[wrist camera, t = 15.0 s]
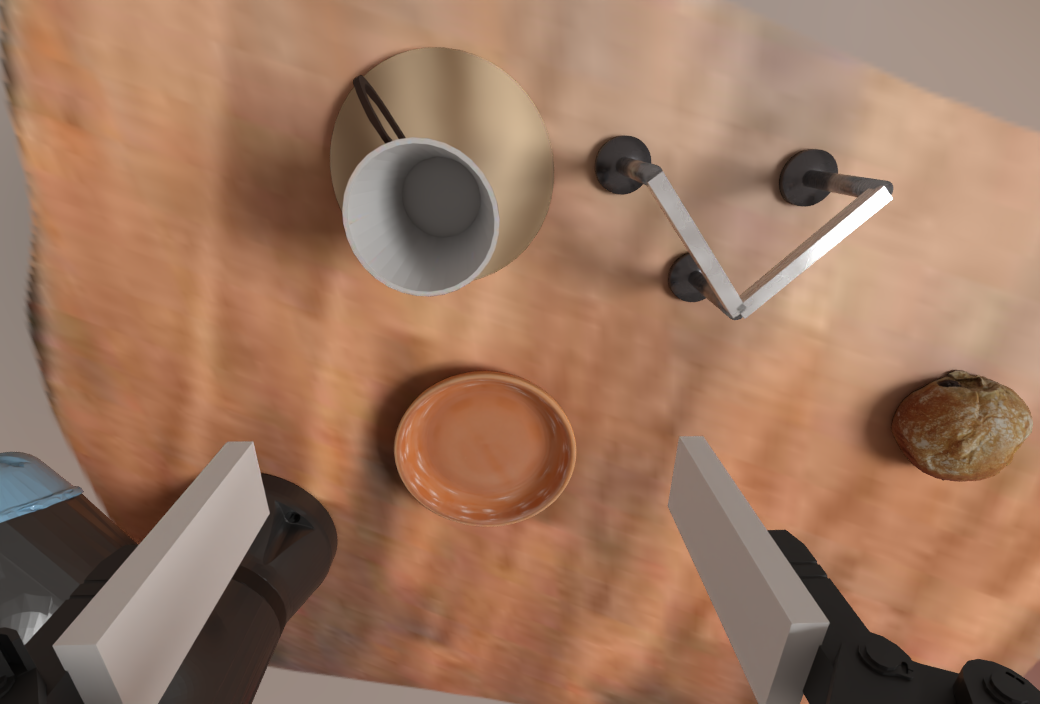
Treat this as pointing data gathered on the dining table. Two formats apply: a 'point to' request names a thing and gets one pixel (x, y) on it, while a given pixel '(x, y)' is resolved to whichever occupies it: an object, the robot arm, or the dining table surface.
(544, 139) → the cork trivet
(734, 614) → the robot arm
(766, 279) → the bent wire
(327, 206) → the dining table surface
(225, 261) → the dining table surface
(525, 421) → the saucer
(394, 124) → the coffee mug
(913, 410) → the bread roll
